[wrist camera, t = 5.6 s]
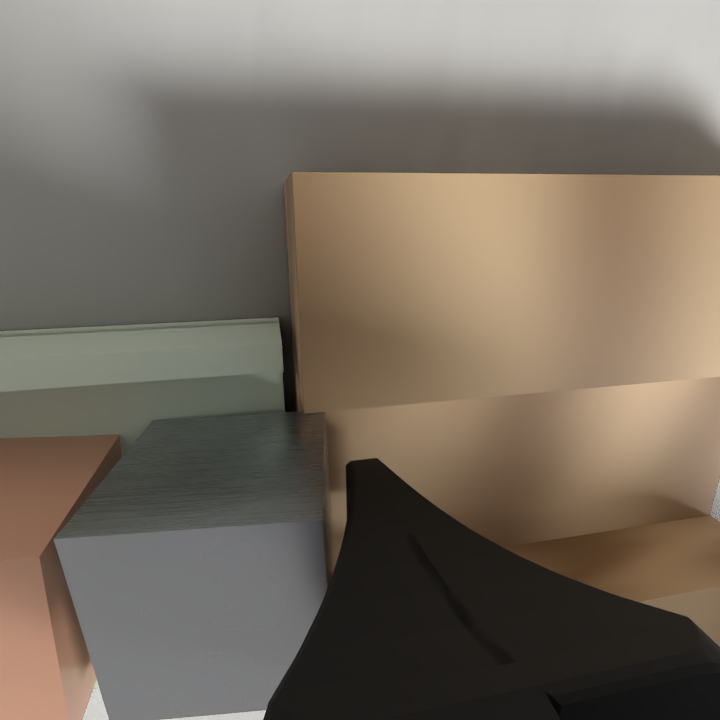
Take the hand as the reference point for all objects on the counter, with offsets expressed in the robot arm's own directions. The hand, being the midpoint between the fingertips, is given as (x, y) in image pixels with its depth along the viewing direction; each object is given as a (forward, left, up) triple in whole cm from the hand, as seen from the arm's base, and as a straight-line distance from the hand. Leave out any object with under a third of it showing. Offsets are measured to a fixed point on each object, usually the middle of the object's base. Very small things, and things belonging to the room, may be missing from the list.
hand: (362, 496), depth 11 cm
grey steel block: (+3, 0, -1) cm, 3 cm away
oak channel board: (-5, 0, -2) cm, 5 cm away
